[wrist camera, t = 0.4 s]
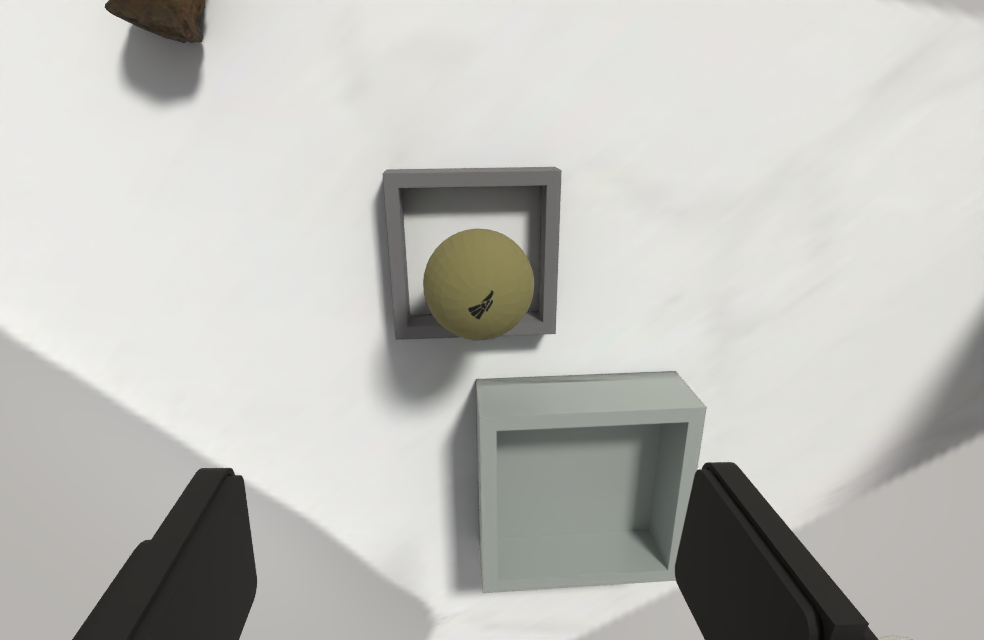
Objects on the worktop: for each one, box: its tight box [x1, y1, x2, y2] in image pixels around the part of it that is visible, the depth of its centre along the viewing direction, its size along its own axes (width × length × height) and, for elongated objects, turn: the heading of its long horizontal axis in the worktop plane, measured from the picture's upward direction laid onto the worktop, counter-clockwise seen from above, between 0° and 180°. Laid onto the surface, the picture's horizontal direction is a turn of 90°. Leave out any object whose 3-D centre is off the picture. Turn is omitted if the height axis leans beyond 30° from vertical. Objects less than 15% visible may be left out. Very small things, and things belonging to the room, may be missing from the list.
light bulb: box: [423, 229, 534, 340], centre depth 30 cm, size 6×6×10 cm
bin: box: [476, 371, 707, 593], centre depth 38 cm, size 14×14×5 cm
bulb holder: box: [383, 167, 561, 340], centre depth 33 cm, size 10×10×2 cm
